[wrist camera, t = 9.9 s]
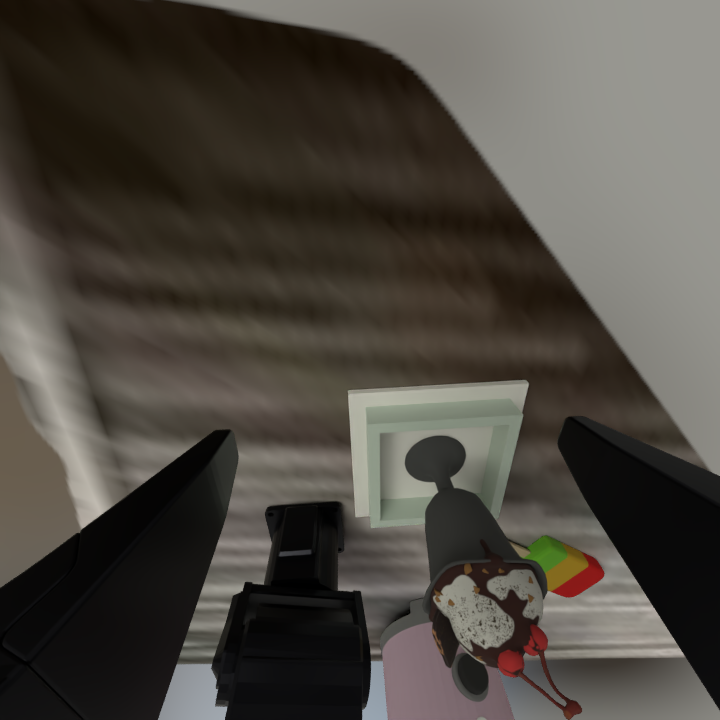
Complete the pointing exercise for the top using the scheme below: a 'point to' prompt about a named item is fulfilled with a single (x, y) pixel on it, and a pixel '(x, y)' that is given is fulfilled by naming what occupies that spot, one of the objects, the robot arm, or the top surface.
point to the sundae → (477, 574)
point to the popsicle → (563, 566)
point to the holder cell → (426, 419)
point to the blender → (436, 676)
